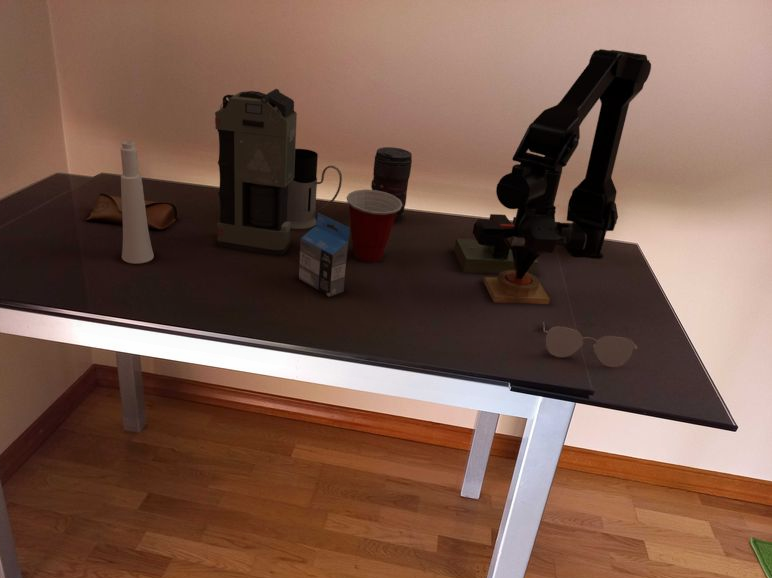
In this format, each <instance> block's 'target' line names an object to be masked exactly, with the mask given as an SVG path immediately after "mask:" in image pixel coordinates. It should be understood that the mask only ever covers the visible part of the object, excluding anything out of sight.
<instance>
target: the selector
mask: <svg viewBox="0 0 772 578" xmlns="http://www.w3.org/2000/svg"><path fill="white" fill-rule="evenodd" d="M488 220H498V222H499V223H500V225H501V226H502V227H514V224H513V223H512V222H511V221H510V219H509V218H508V216H507V215H506V214H501V213H500V214H499V213H490V214H489V219H488ZM487 247H488V249H489V250H490V252H491V254H492V256H498V257H508V255H509V250H510V249H509V247H508V246H507V244H506V243H505V241H504V240H503V242H502V243H500V244H499V245H498V246H487Z"/></svg>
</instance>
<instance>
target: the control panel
mask: <svg viewBox="0 0 772 578" xmlns="http://www.w3.org/2000/svg"><path fill="white" fill-rule="evenodd" d="M454 244H455V245H454V249H453V250H454V251H453V252H454V255H455V256H456V259H457V261H458V263H459V265H460V267H461V269H462V272H463V273H465V274H466V273H467V274H468V273H469V274H473V273H474V274H490V275H491V274H494V275H499V274H500V272H503V271H507V270H515V266H514V261H513V255H512V251H511V250H509V255H508V257H498V256H492V254H491V252H490V250H489V249H488V247H487V245H480V244H478V242H477V240H476V238H456V239H455V243H454ZM538 264H539V261H538V258H536V260H535V261H534V262H533V264H532V265H531V266H530V268H529V269H528V271H527V273H530V274H531V275H533V276H536V272H537V268H538Z"/></svg>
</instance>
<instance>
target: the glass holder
mask: <svg viewBox="0 0 772 578" xmlns="http://www.w3.org/2000/svg"><path fill="white" fill-rule="evenodd" d="M318 156H319V154H318V152H316V151H314V150H311V149H306V148H295V170H294V179H293V180H292V181H291V182H290V183H289V184H288V204H287V222H291V228H290V229H293V230H305V229H310V228H311V229H312V228H314V227H315V226H316V222H317V217H316V215H317V213H319V211H321V210H323V209H325V208H326V207H328V206H329V205H331V204H332V203H333V202H335V200H336V198H337V197H338V195H339V193H340V190H341V187H342V182H343V175H342V171H341V170H340V169H339V167H337V166H335V165H328V166H326V167H325V168H323V170H322V173H321V177H320V178H321V179H320V181H318V177H317V176H318V175H317V174H318V158H319V157H318ZM328 169H334V170H335V171H336V172H337V173H338V175H339V183H338V187H337V190H336V192H335V194H334V196H333V197H332V198H331V199H330V201H328V202H327V203H326V204H324V205H322V206H321V207H319V208H318V209H316V208H317V207H316V206H317V191H318V189H317V188H318V185H321V184H322V183H323V182H324V180H325V174H326V171H327V170H328Z"/></svg>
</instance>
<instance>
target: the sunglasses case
mask: <svg viewBox="0 0 772 578" xmlns="http://www.w3.org/2000/svg"><path fill="white" fill-rule="evenodd" d="M144 201H145V209H146V217H147V224H148V230H160V231H161V230H165V229H167V228H169V227H170V226H172V225H173V224H174V223H175V222H176V221H177V217H178V210H177V207H176V206H175V204H173V203H172V202H167V201H152V200H146V199H144ZM85 220H86V221H94V222H102V223H108V224H114V225H121V226H123V219H122V198H121V196H118V195H112V194H108V193H102V192H101V193H100V194H99V197H98V199H97V200H96V203H95V204H94V207H92V210H91V212H90V214H89V216H88V217H87V218H85Z"/></svg>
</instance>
